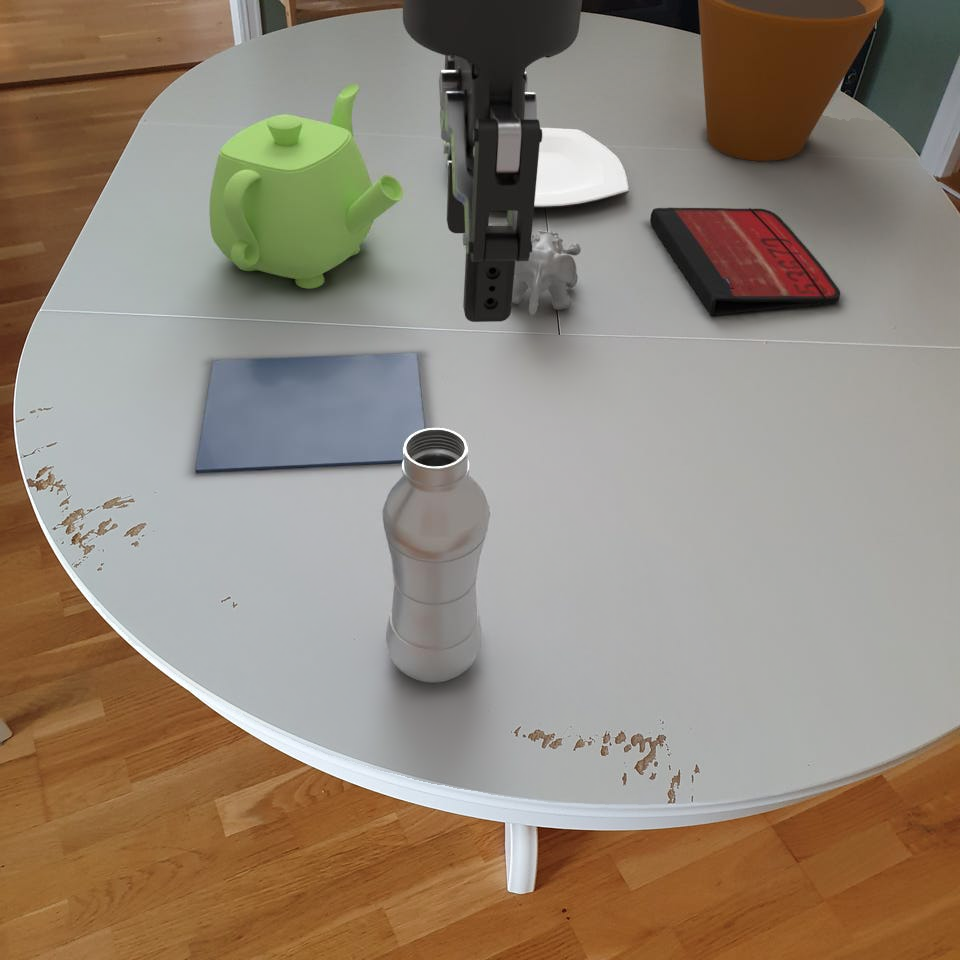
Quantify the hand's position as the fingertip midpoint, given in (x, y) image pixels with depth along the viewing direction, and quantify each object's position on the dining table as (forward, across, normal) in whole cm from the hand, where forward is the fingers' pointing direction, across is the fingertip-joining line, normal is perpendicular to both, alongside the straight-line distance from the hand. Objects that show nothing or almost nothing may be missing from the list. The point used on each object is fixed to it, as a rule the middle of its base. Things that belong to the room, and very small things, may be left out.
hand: (476, 271), depth 48 cm
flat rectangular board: (+31, -27, -10) cm, 42 cm away
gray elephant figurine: (+30, -43, +14) cm, 54 cm away
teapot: (+31, -55, -9) cm, 64 cm away
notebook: (+30, -51, +39) cm, 71 cm away
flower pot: (+30, -85, +52) cm, 104 cm away
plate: (+30, -74, +18) cm, 82 cm away
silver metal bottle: (+31, +2, -2) cm, 31 cm away
